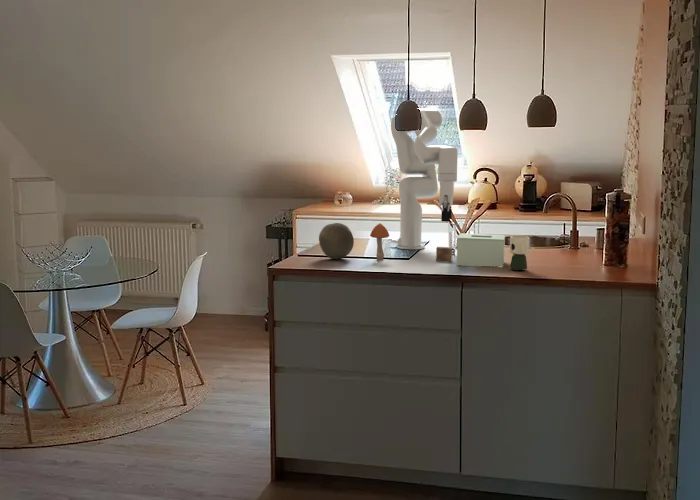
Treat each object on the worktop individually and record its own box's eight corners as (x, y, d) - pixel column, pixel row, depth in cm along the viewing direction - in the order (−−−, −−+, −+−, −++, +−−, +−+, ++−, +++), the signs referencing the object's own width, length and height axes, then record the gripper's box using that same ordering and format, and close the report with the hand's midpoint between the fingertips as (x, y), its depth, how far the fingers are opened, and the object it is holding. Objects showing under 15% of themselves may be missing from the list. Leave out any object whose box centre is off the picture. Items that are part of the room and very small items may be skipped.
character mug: (506, 267, 314) (508, 234, 312) (525, 267, 314) (526, 234, 311) (511, 272, 303) (512, 238, 301) (530, 273, 303) (532, 238, 301)
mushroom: (371, 261, 325) (372, 224, 323) (368, 258, 333) (368, 222, 331) (390, 260, 326) (391, 224, 324) (386, 257, 334) (387, 221, 332)
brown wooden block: (436, 261, 327) (436, 247, 326) (436, 259, 330) (437, 246, 329) (450, 261, 326) (451, 248, 325) (451, 260, 329) (451, 247, 328)
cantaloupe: (320, 256, 336) (320, 220, 333) (354, 257, 335) (354, 221, 333) (317, 262, 322) (317, 225, 319) (352, 263, 321) (352, 225, 319)
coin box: (456, 265, 318) (457, 237, 316) (459, 259, 330) (460, 233, 328) (502, 267, 314) (504, 239, 312) (503, 261, 326) (505, 235, 325)
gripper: (440, 176, 332) (439, 217, 335) (436, 178, 315) (435, 222, 318) (458, 176, 331) (457, 218, 333) (455, 179, 314) (454, 222, 317)
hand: (446, 220), depth 326 cm, fingers open, 9 cm apart
